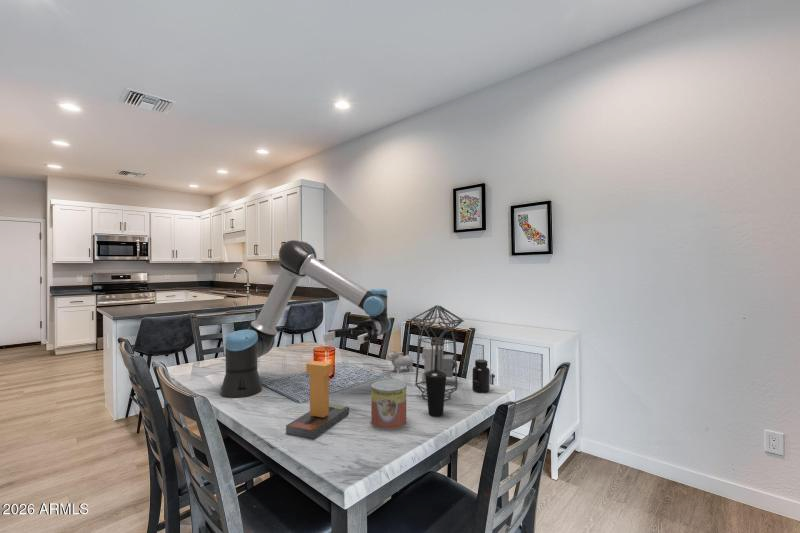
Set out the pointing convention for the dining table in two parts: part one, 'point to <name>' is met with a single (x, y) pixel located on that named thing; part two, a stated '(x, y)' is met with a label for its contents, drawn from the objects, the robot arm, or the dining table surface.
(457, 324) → the geometric lantern
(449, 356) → the circuit breaker
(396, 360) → the dog figurine
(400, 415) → the canned food
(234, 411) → the dining table surface
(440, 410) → the drinking cup
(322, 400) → the handle
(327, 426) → the switch plate
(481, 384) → the supplement bottle
